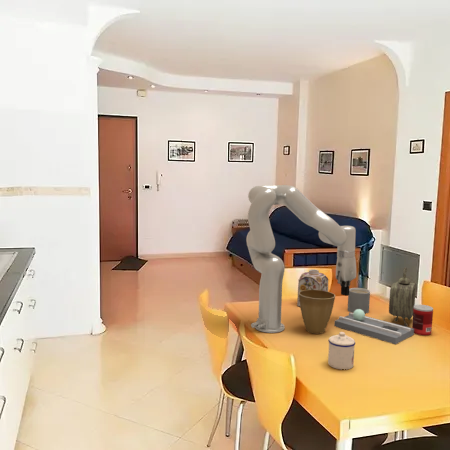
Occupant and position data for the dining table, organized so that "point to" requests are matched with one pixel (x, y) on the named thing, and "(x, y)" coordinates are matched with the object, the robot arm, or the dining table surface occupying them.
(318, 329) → the plant pot
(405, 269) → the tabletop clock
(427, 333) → the canned food
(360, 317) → the ball
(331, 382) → the dining table surface
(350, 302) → the coffee mug
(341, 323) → the board
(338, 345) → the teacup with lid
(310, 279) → the decorative jar
